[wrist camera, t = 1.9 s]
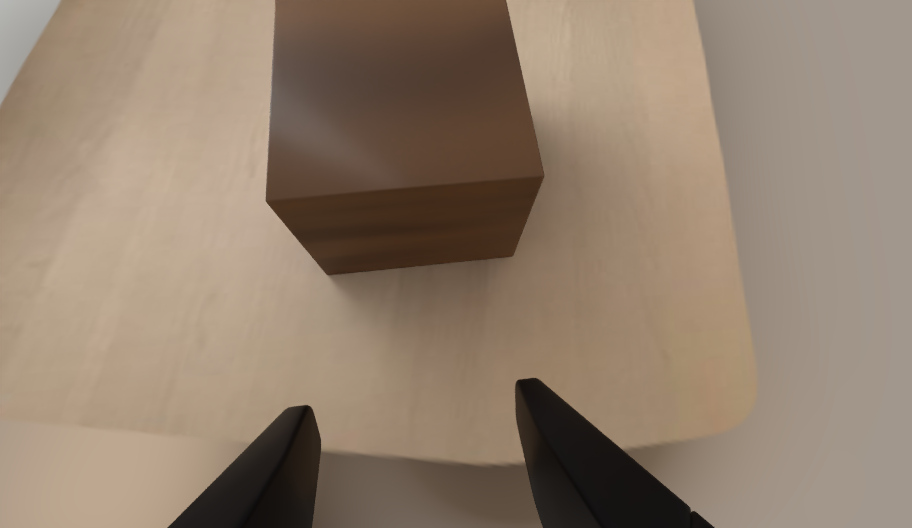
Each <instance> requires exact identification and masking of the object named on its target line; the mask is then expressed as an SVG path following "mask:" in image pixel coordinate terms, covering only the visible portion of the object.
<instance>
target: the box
mask: <svg viewBox="0 0 912 528" xmlns="http://www.w3.org/2000/svg"><path fill="white" fill-rule="evenodd" d="M543 178H544V171H543V167H542V162H541V158H540V153H539V149H538V144H537V140H536V135H535V130H534V126H533V121H532V117H531V112H530V108H529V103H528V98H527V94H526V89H525V85H524V80H523V76H522V71H521V66H520V62H519V57H518V53H517V48H516V44H515V39H514V34H513V30H512V25H511V21H510V16H509V12H508V7H507V2H506V0H275V19H274V39H273V60H272V81H271V102H270V122H269V143H268V164H267V184H266V202H267V204H268V205H269V206H270V207H271V208H272V210H273V211H274V212H275V213H276V214H277V216H278V217H279V218H280V219H281V220H282V222H283V223H284V224H285V225H286V226H287V228H288V229H289V230H290V231H291V232H292V234H293V235H294V236H295V237H296V238H297V240H298V241H299V242H300V243H301V244H302V246H303V247H304V248H305V249H306V250H307V252H308V253H309V254H310V255H311V256H312V258H313V259H314V260H315V261H316V262H317V264H318V265H319V266H320V267H321V268H322V270H323V271H324V272H325V273H326V274H327V275H333V274H343V273H353V272H363V271H373V270H383V269H392V268H402V267H412V266H422V265H432V264H441V263H451V262H461V261H471V260H481V259H491V258H500V257H510V256H513V254H514V252H515V249H516V247H517V244H518V242H519V239H520V236H521V234H522V231H523V229H524V226H525V224H526V221H527V219H528V216H529V214H530V211H531V209H532V206H533V203H534V201H535V198H536V196H537V193H538V191H539V188H540V186H541V183H542V181H543Z"/></svg>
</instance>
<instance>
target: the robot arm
mask: <svg viewBox="0 0 912 528" xmlns="http://www.w3.org/2000/svg"><path fill="white" fill-rule="evenodd" d="M515 401H516V421H517V426H518V430H519V435H520V439H521V444H522V448H523V453H524V457H525V462H526V466H527V470H528V475H529V480H530V484H531V489H532V493H533V497H534V501H535V504H536V508H537V510H538V514H539V517H540V520H541V523H542V526H543V528H714V527H713V526H712V525H711V524H710V523H708V522H707V521H706V520H705V519H704V518H702V517H701V516H700V515H699V514H698V513H696V512H695V511H692V512H691V509H690V507H689V506H688V505H687V504H685V503H684V502H683V501H682V500H681V499H680V498H678V497H677V496H676V495H675V494H674V493H673V492H671V491H670V490H669V489H668V488H667V487H666V486H664V485H663V484H662V483H661V482H660V481H658V480H657V479H656V478H655V477H654V476H653V475H651V474H650V473H649V472H648V471H647V470H645V469H644V468H643V467H642V466H641V465H639V464H638V463H637V462H636V461H635V460H634V459H633V458H631V457H630V456H629V455H628V454H627V453H625V452H624V451H623V450H622V449H621V448H620V447H618V446H617V445H616V444H615V443H614V442H612V441H611V440H610V439H609V438H608V437H607V436H605V435H604V434H603V433H602V432H601V431H599V430H598V429H597V428H596V427H595V426H594V425H592V424H591V423H590V422H589V421H588V420H586V419H585V418H584V417H583V416H582V415H581V414H579V413H578V412H577V411H576V410H575V409H573V408H572V407H571V406H570V405H569V404H568V403H566V402H565V401H564V400H563V399H562V398H560V397H559V396H558V395H557V394H556V393H555V392H553V391H552V390H551V389H550V388H549V387H547V386H546V385H545V384H544V383H543V382H542V381H540V380H539V379H537V378H528V379H520V380H518V381H517V382H516V385H515ZM320 454H321V438H320V434H319V430H318V426H317V423H316V419H315V416H314V412H313V409H312V408H311V407H310V406H308V405H303V406H295V407H289V408H287V409H286V410H284V411H283V412H282V413H281V414H280V415H279V416H278V417H277V418H276V419H275V420H274V421H273V422H272V423H271V424H270V425H269V426H268V427H267V428H266V429H265V430H264V431H263V432H262V433H261V434H260V435H259V436H258V437H257V438H256V439H255V440H254V441H253V442H252V443H251V444H250V445H249V447H248V448H247V449H246V450H245V451H244V452H243V453H242V454H241V455H240V456H239V457H238V458H237V459H236V460H235V461H234V462H233V463H232V464H231V465H230V466H229V467H228V468H227V469H226V470H225V471H224V472H223V473H222V474H221V475H220V476H219V477H218V478H217V479H216V480H215V481H214V482H213V483H212V484H211V485H210V486H209V487H208V488H207V489H206V490H205V491H204V492H203V493H202V494H201V495H200V496H199V497H198V498H197V499H196V500H195V501H194V502H193V503H192V504H191V505H190V506H189V507H188V508H187V509H186V510H185V511H184V512H183V513H182V514H181V515H180V516H179V517H178V518H177V519H176V520H175V521H174V522H173V523H172V524H171V525H170V526H169V527H168V528H312V521H313V514H314V504H315V497H316V488H317V480H318V471H319V463H320Z"/></svg>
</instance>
